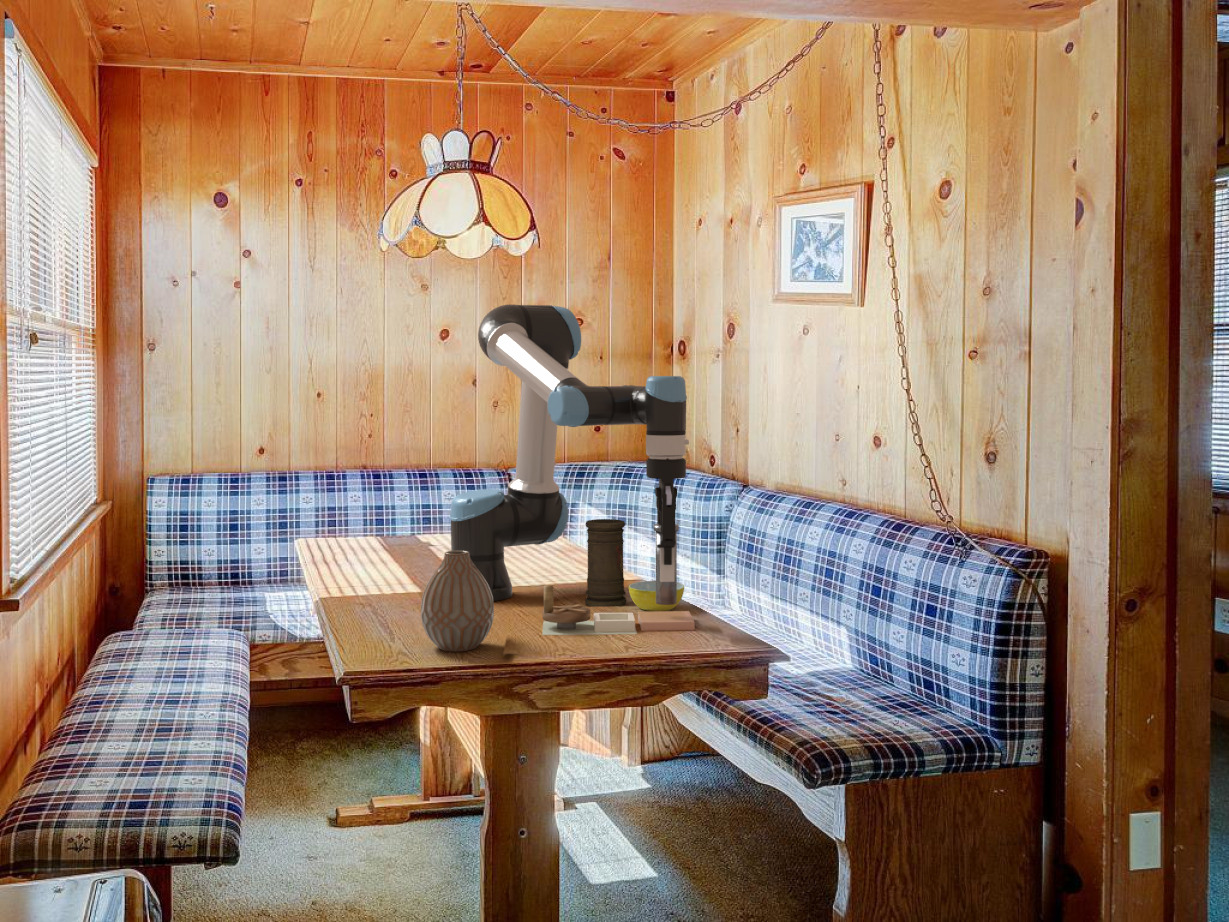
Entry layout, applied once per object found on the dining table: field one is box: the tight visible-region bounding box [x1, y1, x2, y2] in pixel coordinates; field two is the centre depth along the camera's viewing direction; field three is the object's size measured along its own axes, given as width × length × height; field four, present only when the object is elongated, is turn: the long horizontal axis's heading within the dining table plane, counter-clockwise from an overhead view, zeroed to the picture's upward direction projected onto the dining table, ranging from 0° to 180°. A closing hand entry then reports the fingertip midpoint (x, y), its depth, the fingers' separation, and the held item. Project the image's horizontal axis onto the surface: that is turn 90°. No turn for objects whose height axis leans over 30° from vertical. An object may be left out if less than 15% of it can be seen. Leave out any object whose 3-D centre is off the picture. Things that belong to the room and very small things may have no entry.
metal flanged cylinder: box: [653, 523, 680, 605], centre depth 228 cm, size 5×5×15 cm
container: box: [584, 518, 627, 608], centre depth 256 cm, size 9×9×18 cm
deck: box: [541, 612, 638, 636], centre depth 226 cm, size 18×12×4 cm
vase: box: [420, 550, 495, 653], centre depth 216 cm, size 13×13×18 cm
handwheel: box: [542, 584, 591, 623], centre depth 226 cm, size 9×9×6 cm
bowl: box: [628, 580, 685, 612], centre depth 245 cm, size 11×12×6 cm
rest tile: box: [637, 610, 695, 632], centre depth 229 cm, size 10×10×3 cm
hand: (666, 579), depth 228 cm, fingers closed on metal flanged cylinder, 4 cm apart
